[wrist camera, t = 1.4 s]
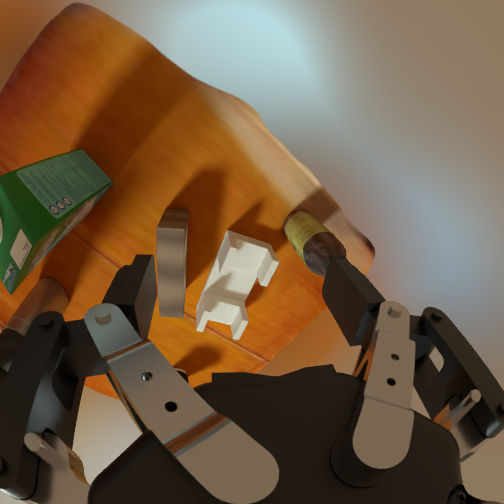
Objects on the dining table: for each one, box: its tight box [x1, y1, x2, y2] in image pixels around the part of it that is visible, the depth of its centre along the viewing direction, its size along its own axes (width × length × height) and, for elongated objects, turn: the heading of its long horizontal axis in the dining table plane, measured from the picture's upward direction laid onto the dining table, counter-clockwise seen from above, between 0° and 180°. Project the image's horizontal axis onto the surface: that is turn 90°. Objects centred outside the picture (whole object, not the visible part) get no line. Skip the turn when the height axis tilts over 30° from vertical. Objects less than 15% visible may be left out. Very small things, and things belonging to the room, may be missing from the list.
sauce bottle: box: [284, 211, 360, 277], centre depth 41 cm, size 7×6×20 cm
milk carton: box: [0, 149, 113, 295], centre depth 28 cm, size 9×9×25 cm
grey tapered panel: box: [157, 209, 189, 318], centre depth 44 cm, size 16×4×9 cm, turn 172°
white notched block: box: [196, 230, 279, 340], centre depth 49 cm, size 18×9×7 cm, turn 157°
